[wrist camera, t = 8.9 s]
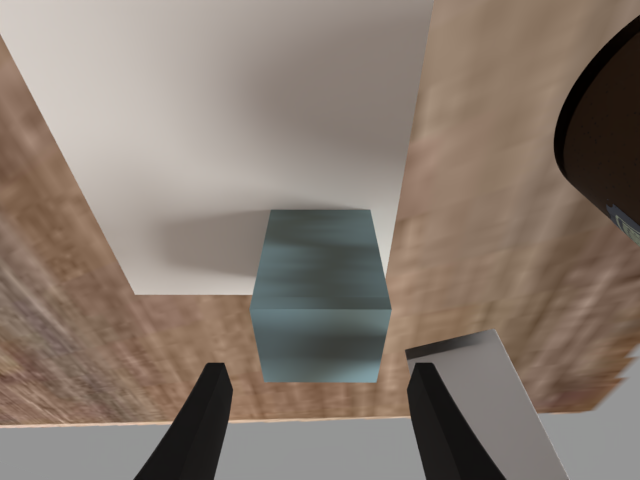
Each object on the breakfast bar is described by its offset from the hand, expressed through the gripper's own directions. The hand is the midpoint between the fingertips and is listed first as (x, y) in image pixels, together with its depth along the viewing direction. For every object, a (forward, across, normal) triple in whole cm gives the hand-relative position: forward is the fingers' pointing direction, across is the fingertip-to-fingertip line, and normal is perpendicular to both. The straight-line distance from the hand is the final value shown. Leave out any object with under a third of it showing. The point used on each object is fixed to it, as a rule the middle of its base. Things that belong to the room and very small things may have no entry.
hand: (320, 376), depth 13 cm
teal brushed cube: (+8, 0, 0) cm, 8 cm away
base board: (+9, -4, +4) cm, 11 cm away
